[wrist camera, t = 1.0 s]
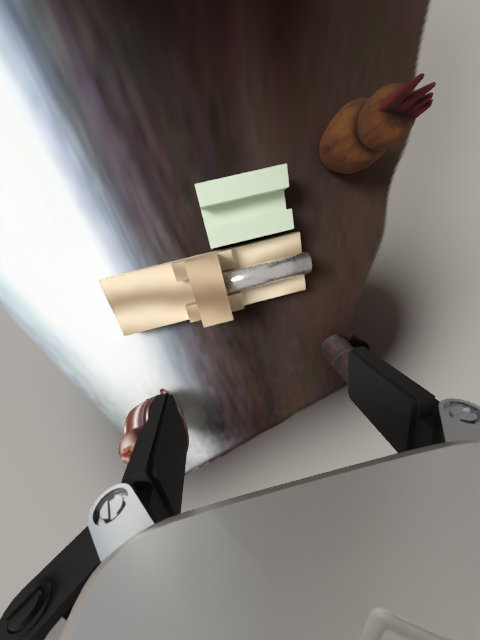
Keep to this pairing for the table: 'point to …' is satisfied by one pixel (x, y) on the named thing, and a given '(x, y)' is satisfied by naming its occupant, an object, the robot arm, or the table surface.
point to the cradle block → (245, 205)
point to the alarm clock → (138, 427)
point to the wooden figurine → (372, 125)
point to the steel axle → (267, 272)
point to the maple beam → (196, 286)
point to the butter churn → (337, 354)
